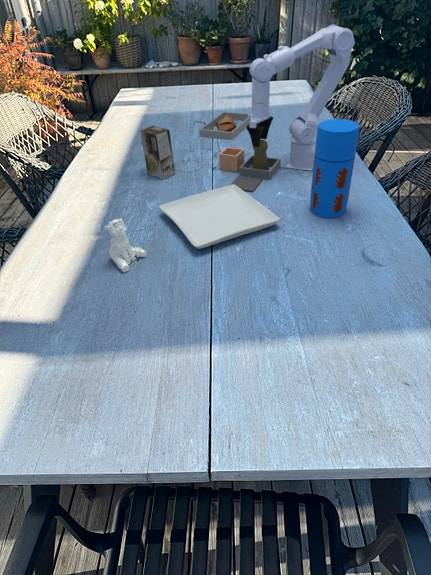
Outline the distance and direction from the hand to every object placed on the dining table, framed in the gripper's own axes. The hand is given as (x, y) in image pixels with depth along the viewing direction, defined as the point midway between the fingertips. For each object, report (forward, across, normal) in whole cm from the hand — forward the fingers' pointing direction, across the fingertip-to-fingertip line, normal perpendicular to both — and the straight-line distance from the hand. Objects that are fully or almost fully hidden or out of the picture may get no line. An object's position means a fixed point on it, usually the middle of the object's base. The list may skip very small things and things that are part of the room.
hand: (259, 142), depth 142 cm
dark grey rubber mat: (+10, +12, -1) cm, 16 cm away
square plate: (+11, +37, 0) cm, 38 cm away
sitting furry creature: (+11, +64, -15) cm, 66 cm away
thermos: (+10, +20, +29) cm, 37 cm away
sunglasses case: (+11, -39, -30) cm, 51 cm away
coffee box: (+11, +13, -34) cm, 38 cm away
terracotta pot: (+10, 0, -11) cm, 15 cm away
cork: (+11, 0, 0) cm, 11 cm away
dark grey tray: (+10, -39, -30) cm, 50 cm away
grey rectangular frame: (+10, 0, 0) cm, 10 cm away
